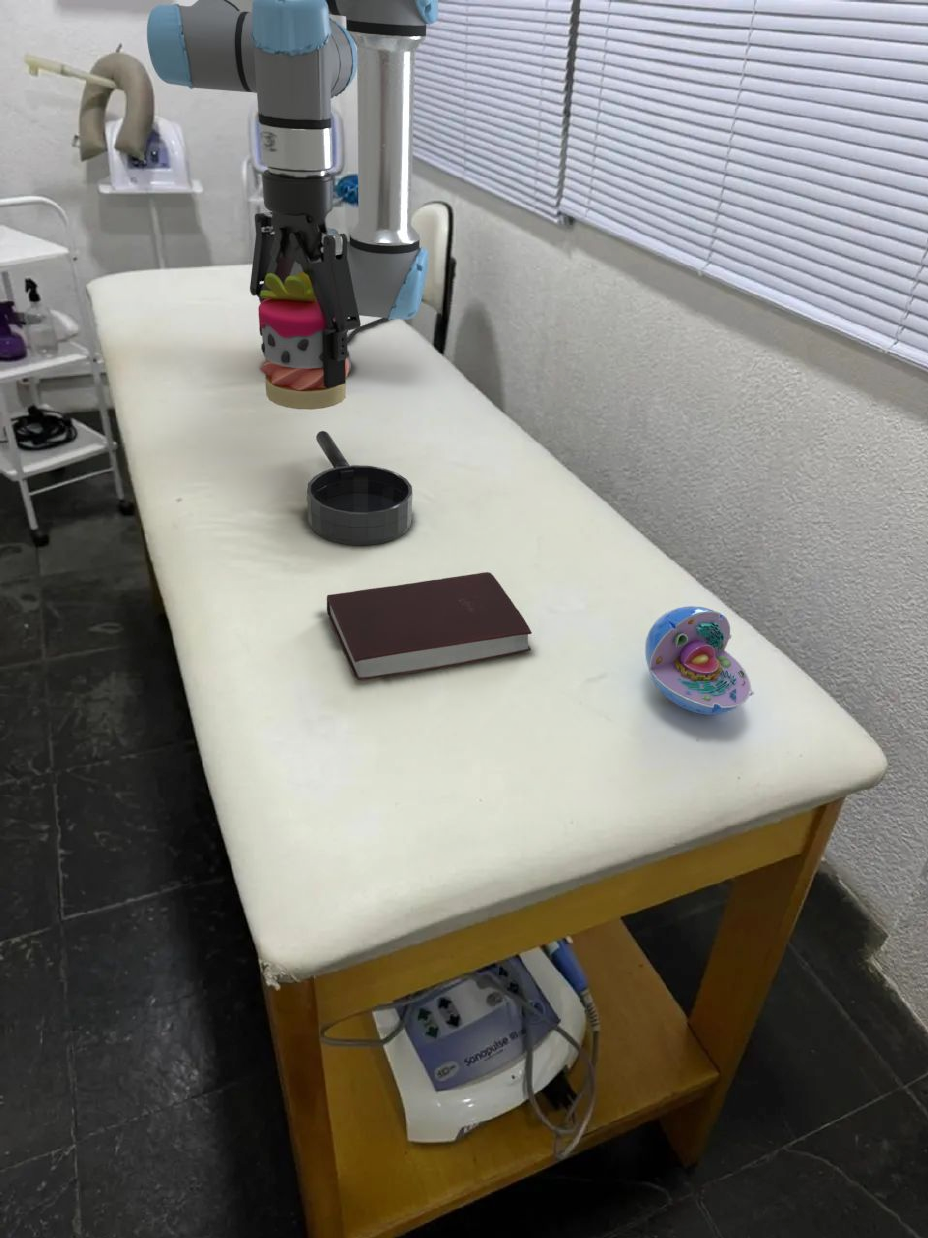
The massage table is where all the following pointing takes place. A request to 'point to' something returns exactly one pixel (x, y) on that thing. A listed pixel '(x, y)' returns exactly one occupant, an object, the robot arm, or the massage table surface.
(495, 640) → the book
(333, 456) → the pan handle
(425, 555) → the massage table surface
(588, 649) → the massage table surface
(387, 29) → the robot arm
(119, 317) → the massage table surface
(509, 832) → the massage table surface
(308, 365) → the cake
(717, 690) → the cell model
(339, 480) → the pan
